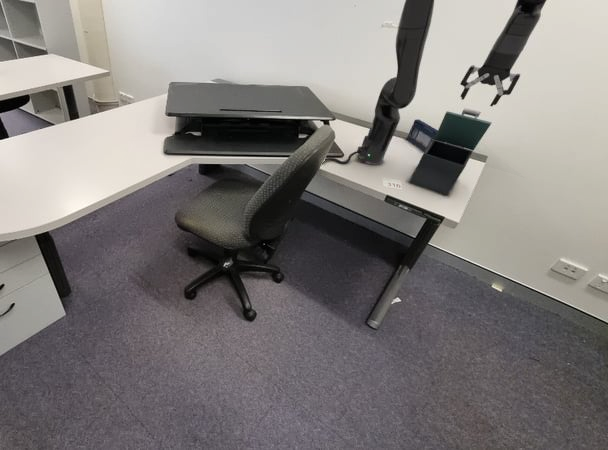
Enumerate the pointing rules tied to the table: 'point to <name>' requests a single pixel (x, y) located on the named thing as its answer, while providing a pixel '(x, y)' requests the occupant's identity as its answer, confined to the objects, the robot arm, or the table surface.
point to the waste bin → (440, 167)
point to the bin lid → (462, 129)
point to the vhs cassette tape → (421, 135)
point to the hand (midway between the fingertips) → (476, 102)
